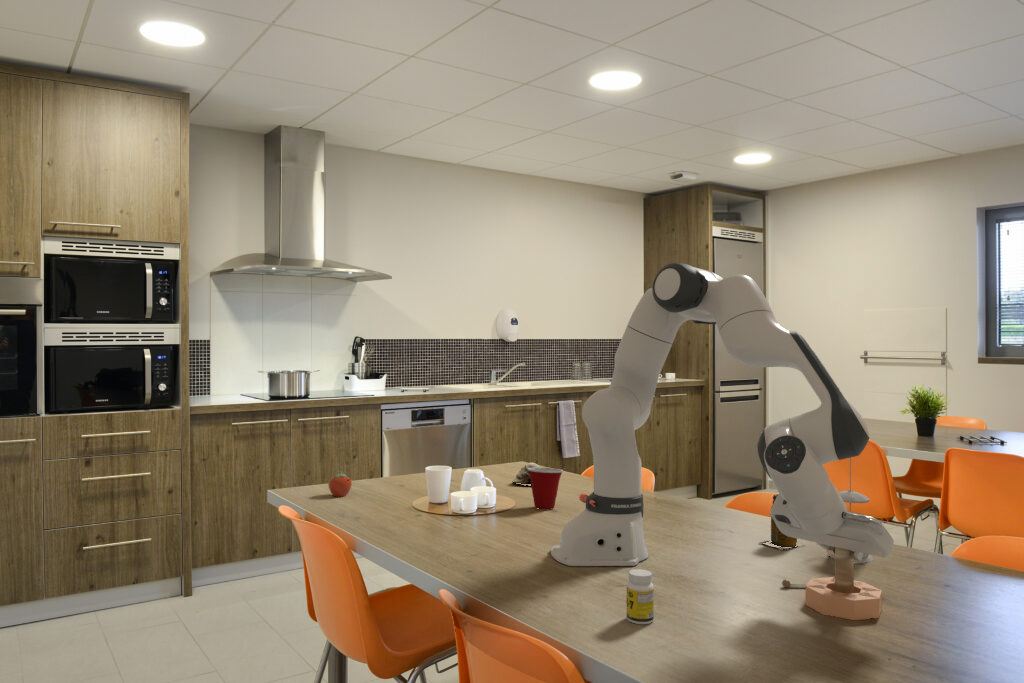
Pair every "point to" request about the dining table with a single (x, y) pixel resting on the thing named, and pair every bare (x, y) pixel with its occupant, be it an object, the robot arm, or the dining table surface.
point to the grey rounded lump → (524, 474)
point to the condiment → (780, 535)
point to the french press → (855, 498)
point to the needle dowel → (844, 571)
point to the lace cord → (787, 584)
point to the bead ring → (843, 599)
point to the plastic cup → (544, 486)
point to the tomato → (340, 485)
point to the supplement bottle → (640, 597)
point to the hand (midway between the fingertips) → (845, 554)
